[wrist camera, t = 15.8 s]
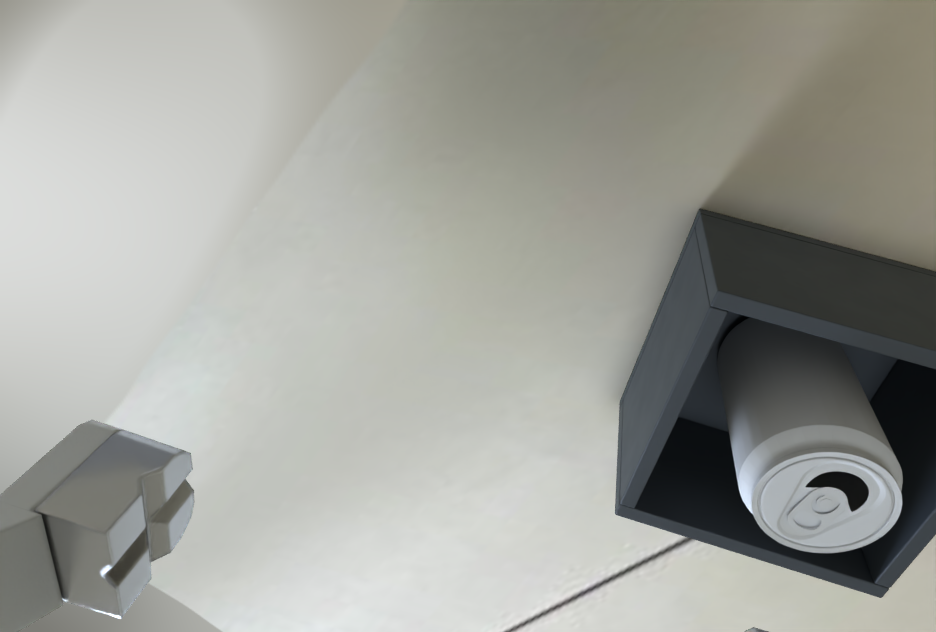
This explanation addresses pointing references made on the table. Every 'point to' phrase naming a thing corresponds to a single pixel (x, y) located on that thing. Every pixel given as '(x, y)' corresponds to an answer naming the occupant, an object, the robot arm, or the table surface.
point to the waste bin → (701, 401)
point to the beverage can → (806, 440)
